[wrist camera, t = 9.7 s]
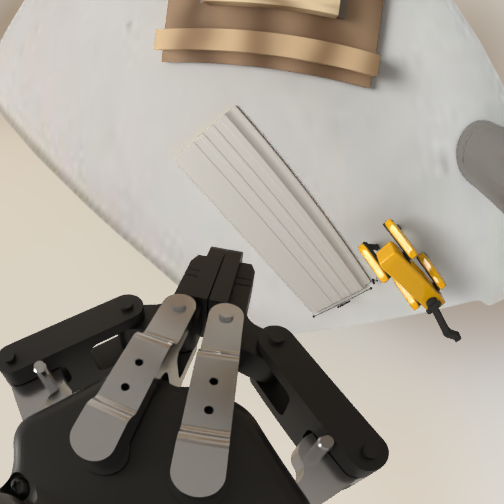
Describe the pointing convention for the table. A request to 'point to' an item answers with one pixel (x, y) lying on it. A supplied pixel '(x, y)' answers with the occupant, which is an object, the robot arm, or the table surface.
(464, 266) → the table surface
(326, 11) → the oak plank
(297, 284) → the baseboard molding
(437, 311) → the robot dog
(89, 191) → the table surface
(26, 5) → the table surface
